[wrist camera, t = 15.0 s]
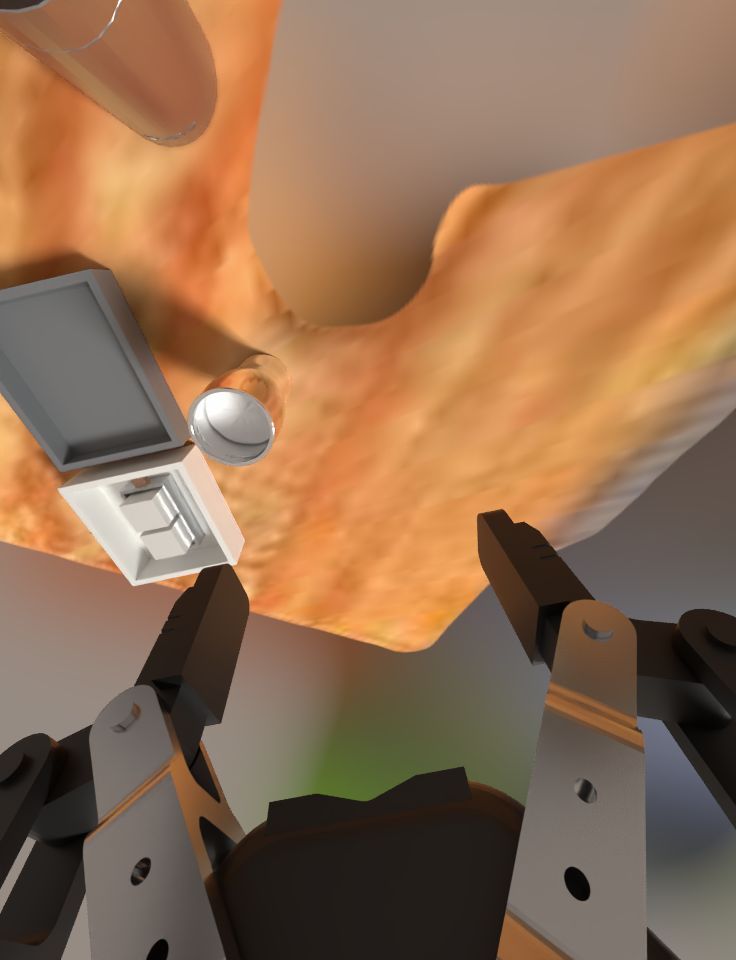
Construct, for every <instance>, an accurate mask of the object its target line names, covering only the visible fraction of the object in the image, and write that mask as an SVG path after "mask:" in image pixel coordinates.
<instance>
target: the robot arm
mask: <svg viewBox="0 0 736 960" xmlns="http://www.w3.org/2000/svg"><path fill="white" fill-rule="evenodd" d="M0 31H1V32H3V33H4V34H5V35H7V36H8V37H9V38H11V39H12V40H13V41H15V42H16V43H17V44H19V45H20V46H21V47H23V48H24V49H25V50H27V51H28V52H29V53H31V54H32V55H33V56H35V57H36V58H37V59H39V60H40V61H41V62H43V63H44V64H45V65H47V66H48V67H49V68H51V69H52V70H53V71H55V72H56V73H57V74H59V75H60V76H61V77H63V78H64V79H65V80H67V81H68V82H69V83H71V84H72V85H73V86H75V87H76V88H77V89H79V90H80V91H81V92H83V93H84V94H85V95H87V96H88V97H89V98H91V99H92V100H94V101H95V102H96V103H98V104H99V105H100V106H102V107H103V108H104V109H106V110H107V111H108V112H109V113H111V114H112V115H113V116H115V117H116V118H117V119H119V120H120V121H121V122H123V123H124V124H125V125H127V126H128V127H129V128H131V129H132V130H134V131H135V132H136V133H138V134H139V135H141V136H142V137H144V138H145V139H147V140H149V141H151V142H154V143H156V144H158V145H163V146H168V147H177V146H184V145H186V144H189V143H191V142H193V141H194V140H196V139H197V138H198V137H199V136H200V135H202V133H203V132H204V131H205V129H206V128H207V126H208V125H209V123H210V120H211V118H212V115H213V112H214V108H215V102H216V97H217V79H216V72H215V65H214V60H213V57H212V54H211V50H210V47H209V44H208V41H207V39H206V37H205V35H204V33H203V30H202V28H201V26H200V24H199V22H198V20H197V18H196V16H195V15H194V13H193V11H192V9H191V7H190V5H189V3H188V1H187V0H0ZM477 531H478V554H479V558H480V562H481V565H482V568H483V570H484V572H485V574H486V576H487V578H488V580H489V582H490V583H491V585H492V587H493V589H494V591H495V593H496V595H497V597H498V599H499V601H500V603H501V605H502V607H503V609H504V611H505V613H506V615H507V617H508V619H509V621H510V623H511V624H512V626H513V628H514V630H515V632H516V634H517V636H518V638H519V640H520V642H521V644H522V646H523V648H524V650H525V652H526V654H527V656H528V657H529V659H530V662H531V663H532V665H539V664H544V663H546V665H547V666H548V668H549V670H550V672H551V678H550V683H549V689H548V692H547V697H546V702H545V707H544V712H543V718H542V723H541V728H540V733H539V739H538V744H537V749H536V755H535V760H534V765H533V770H532V776H531V781H530V786H529V791H528V797H527V802H526V807H524V806H523V805H522V804H521V803H519V802H518V801H517V800H515V799H513V798H512V797H510V796H508V795H507V794H506V793H504V792H502V791H499V790H497V789H495V788H493V787H491V786H488V785H485V784H481V783H478V782H472V781H468V780H467V776H466V772H465V769H464V767H458V768H453V769H447V770H442V771H437V772H431V773H426V774H421V775H415V776H414V777H412V778H410V779H408V780H406V781H405V782H403V783H401V784H399V785H397V786H395V787H394V788H392V789H390V790H388V791H387V792H385V793H383V794H381V795H379V796H377V797H376V798H374V799H372V800H369V801H357V800H351V799H345V798H340V797H334V796H328V795H322V794H312V795H306V796H301V797H296V798H290V799H285V800H279V801H274V802H270V803H269V809H268V817H267V820H266V821H265V822H263V823H261V824H260V825H259V826H257V827H256V828H254V829H253V830H252V831H251V832H250V833H248V834H247V835H246V834H245V832H244V831H243V829H242V827H241V825H240V824H239V822H238V821H237V819H236V818H235V816H234V814H233V813H232V811H231V809H230V807H229V805H228V803H227V800H226V798H225V795H224V793H223V790H222V788H221V785H220V783H219V781H218V778H217V775H216V773H215V770H214V768H213V766H212V763H211V761H210V758H209V756H208V753H207V751H206V748H205V746H204V744H203V742H202V741H201V737H202V733H203V730H204V726H209V725H215V724H220V723H221V721H222V717H223V713H224V710H225V706H226V702H227V698H228V694H229V690H230V686H231V682H232V678H233V674H234V670H235V667H236V663H237V659H238V654H239V651H240V647H241V643H242V639H243V635H244V631H245V628H246V623H247V620H248V616H249V600H248V596H247V594H246V592H245V590H244V588H243V586H242V584H241V583H240V581H239V579H238V577H237V575H236V573H235V571H234V570H233V568H232V566H231V565H230V564H228V563H226V564H221V565H216V566H211V567H206V568H203V569H202V570H201V571H200V573H199V576H198V578H197V580H196V582H195V584H194V587H189V588H188V589H187V590H186V591H185V592H184V593H183V594H182V595H181V597H180V598H179V599H178V600H177V601H176V602H175V604H174V606H173V608H172V610H171V612H170V615H169V616H168V621H166V622H165V624H164V627H163V628H162V633H161V634H159V637H158V639H157V641H156V643H155V645H154V647H153V649H152V651H151V653H150V655H149V657H148V659H147V661H146V663H145V665H144V667H143V669H142V671H141V673H140V675H139V677H138V679H137V681H136V683H135V685H134V687H132V688H129V689H127V690H125V691H124V692H122V693H120V694H119V695H118V696H116V697H115V698H114V699H113V700H112V701H110V702H109V704H107V706H106V707H105V708H104V709H103V710H102V711H101V713H100V714H99V715H98V717H97V718H96V720H95V722H94V724H92V725H90V726H88V727H86V728H84V729H82V730H80V731H78V732H76V733H74V734H72V735H70V736H68V737H66V738H64V739H62V740H60V741H58V742H56V741H55V740H54V739H52V738H51V737H49V736H48V735H46V734H44V733H38V734H33V735H30V736H28V737H25V738H23V739H21V740H20V741H18V742H16V743H15V744H13V745H12V746H11V747H9V748H8V749H7V750H5V751H4V752H3V753H2V754H1V755H0V889H1V887H2V885H3V883H4V881H5V879H6V877H7V875H8V873H9V871H10V869H11V867H12V865H13V863H14V861H15V859H16V857H17V855H18V853H19V852H20V850H21V848H22V846H23V844H24V842H25V840H26V838H27V836H28V837H30V838H32V839H34V840H36V842H35V844H34V846H33V848H32V851H31V853H30V854H29V856H28V858H27V861H26V863H25V865H24V867H23V869H22V871H21V873H20V875H19V877H18V879H17V881H16V883H15V885H14V887H13V889H12V891H11V893H10V895H9V897H8V899H7V901H6V903H5V905H4V907H3V909H2V911H1V913H0V960H61V957H62V955H63V952H64V949H65V947H66V944H67V941H68V938H69V936H70V933H71V931H72V928H73V925H74V922H75V920H76V917H77V914H78V912H79V909H80V906H81V904H82V901H83V898H84V895H85V893H86V897H87V909H88V922H89V935H90V947H91V960H680V959H679V958H678V957H677V956H676V955H675V954H674V953H673V952H672V951H671V950H670V949H669V948H668V947H667V946H666V945H665V944H664V943H663V942H662V941H661V940H660V939H659V938H658V937H657V936H656V935H655V934H654V933H653V932H652V931H651V930H650V929H649V928H648V927H647V921H646V920H647V916H646V841H645V840H646V838H645V837H646V833H645V752H644V739H643V734H642V732H641V730H639V729H638V727H637V716H640V717H646V718H652V719H658V720H662V722H663V723H664V724H665V726H666V727H667V729H668V730H669V731H670V733H671V735H672V736H673V738H674V739H675V741H676V742H677V744H678V745H679V747H680V748H681V749H682V751H683V752H684V754H685V755H686V757H687V758H688V760H689V761H690V763H691V764H692V766H693V767H694V769H695V770H696V772H697V773H698V775H699V776H700V777H701V779H702V780H703V781H704V783H705V785H706V786H707V788H708V789H709V791H710V792H711V794H712V795H713V797H714V798H715V800H716V801H717V803H718V804H719V805H720V807H721V808H722V810H723V811H724V813H725V814H726V816H727V817H728V819H729V820H730V821H731V823H732V824H733V826H734V828H735V829H736V618H735V617H734V616H731V615H729V614H726V613H723V612H719V611H715V610H709V609H694V610H690V611H687V612H685V613H684V614H683V615H682V616H681V618H680V619H679V622H678V624H674V623H664V622H653V621H643V620H635V619H630V618H627V617H626V616H625V615H624V614H623V613H622V612H620V611H619V610H618V609H616V608H614V607H612V606H610V605H608V604H606V603H603V602H600V601H596V600H595V599H594V598H593V597H592V595H591V594H590V593H589V592H588V590H587V589H586V588H585V587H584V585H583V584H582V583H581V582H580V581H579V580H578V578H577V577H576V576H575V575H574V573H573V572H572V571H571V569H570V568H569V567H568V566H567V565H566V563H565V562H564V561H563V560H562V558H561V557H559V556H558V553H557V552H556V551H555V550H554V549H553V547H552V546H550V544H549V542H548V541H547V540H546V539H545V537H544V536H543V535H542V534H541V533H540V531H538V530H537V529H535V528H533V527H532V526H530V525H528V524H527V523H525V522H520V523H515V524H514V523H513V521H512V520H511V519H510V517H509V516H508V514H507V513H506V512H505V511H504V510H503V509H500V510H495V511H490V512H485V513H480V514H478V516H477Z"/></svg>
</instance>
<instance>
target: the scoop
mask: <svg viewBox="0 0 736 960" xmlns="http://www.w3.org/2000/svg"><path fill="white" fill-rule="evenodd" d="M131 481H132V482H129V483H128V484H127V485H126V486H125V487H124V488H123V489H122V490H120V491H119V492H118V493H119V494H120V496H121V497H122V499H123V500H124V501H125V500H126V499H127V498H128V497H129V496H130V495H131V493H133V492H138V491H142V490H147V489H152V488H156V487H162V488H163V490H164V492H165V493H166V495H167V497H168V499H169V500H170V502H171V504H172V505H173V507H174V509H175V510H176V512H177V514H178V515H179V517H180V519H181V521H182V522H183V524H184V526H185V527H186V529H187V531H188V532H189V534H190V536H191V537H192V539H193V541H192V543H191V545H190V547H189V548H193V547H197V546H200V544H201V543H202V541H203V539H204V537H205V533H204V531H203V530H202V528H201V526H200V524H199V522H198V521H197V519H196V517H195V515H194V513H193V512H192V510H191V508H190V506H189V505H188V503H187V501H186V499H185V497H184V496H183V494H182V492H181V490H180V489H179V487H178V485H177V483H176V481H175V480H174V478H173V476H172V474H166V475H161V476H157V477H152V478H148V476H145V477H141V478H136V479H131Z"/></svg>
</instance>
